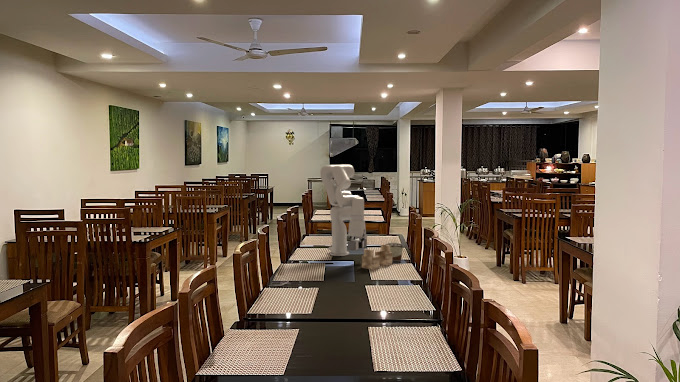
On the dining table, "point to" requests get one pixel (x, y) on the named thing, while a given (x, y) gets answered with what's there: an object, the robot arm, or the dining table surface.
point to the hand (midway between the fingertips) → (357, 247)
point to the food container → (396, 251)
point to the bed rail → (356, 244)
